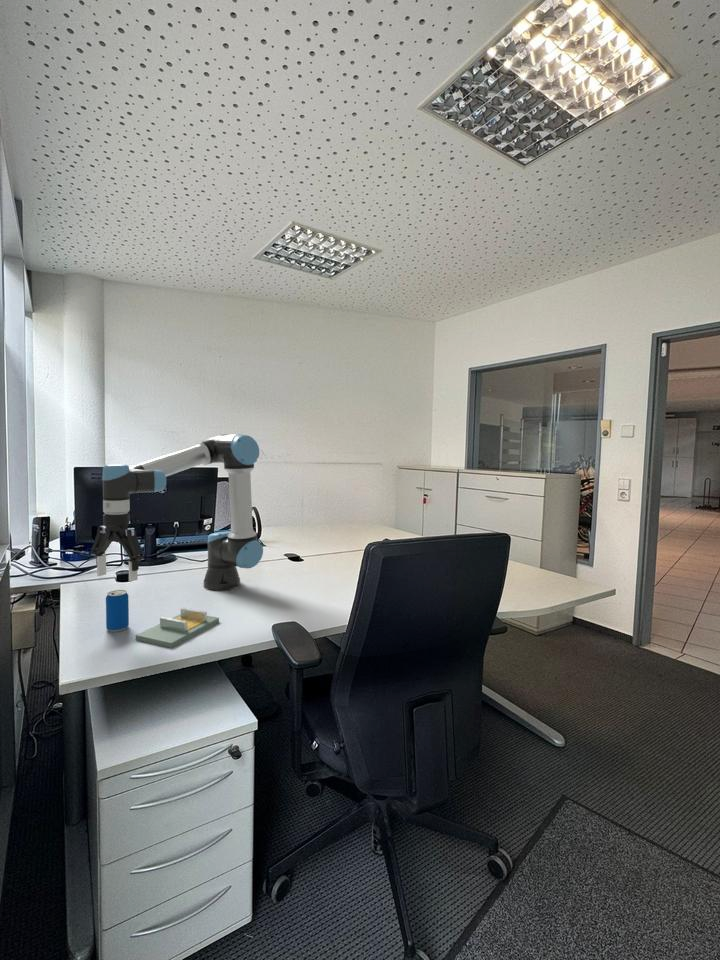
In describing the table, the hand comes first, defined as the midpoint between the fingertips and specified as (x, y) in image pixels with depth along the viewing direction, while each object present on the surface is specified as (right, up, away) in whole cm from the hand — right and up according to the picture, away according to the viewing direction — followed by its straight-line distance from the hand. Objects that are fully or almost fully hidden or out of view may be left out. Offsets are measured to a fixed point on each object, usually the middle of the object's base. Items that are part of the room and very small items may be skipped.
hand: (117, 577), depth 148 cm
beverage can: (-1, -17, +1) cm, 17 cm away
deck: (+20, -17, +1) cm, 26 cm away
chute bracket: (+20, -16, +3) cm, 26 cm away
